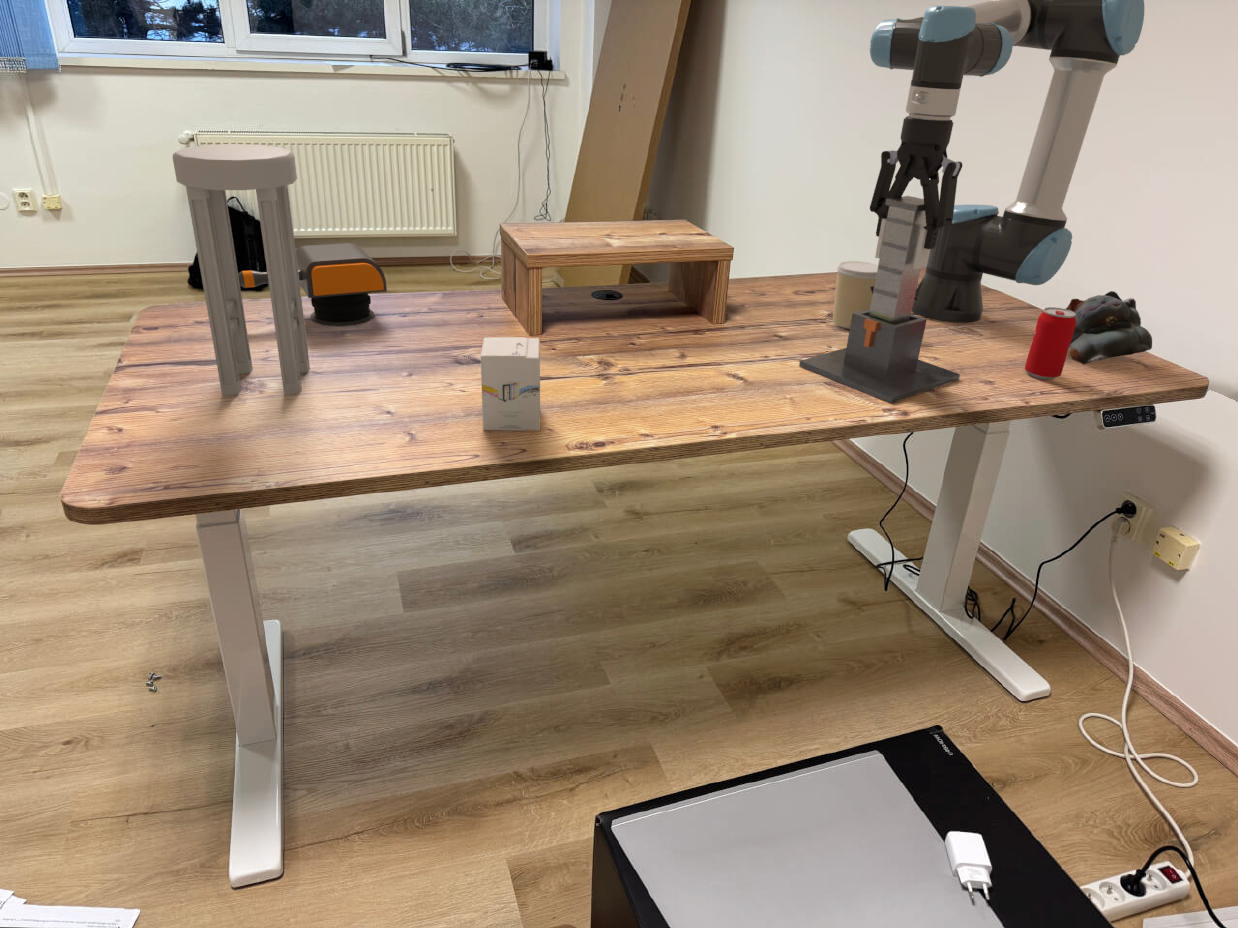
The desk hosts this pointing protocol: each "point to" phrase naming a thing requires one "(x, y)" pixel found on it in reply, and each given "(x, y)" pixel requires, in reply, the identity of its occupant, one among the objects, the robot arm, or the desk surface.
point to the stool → (206, 185)
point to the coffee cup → (853, 290)
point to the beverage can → (1050, 343)
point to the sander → (333, 282)
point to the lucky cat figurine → (1106, 328)
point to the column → (898, 261)
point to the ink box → (510, 383)
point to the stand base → (882, 360)
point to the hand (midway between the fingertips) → (900, 262)
